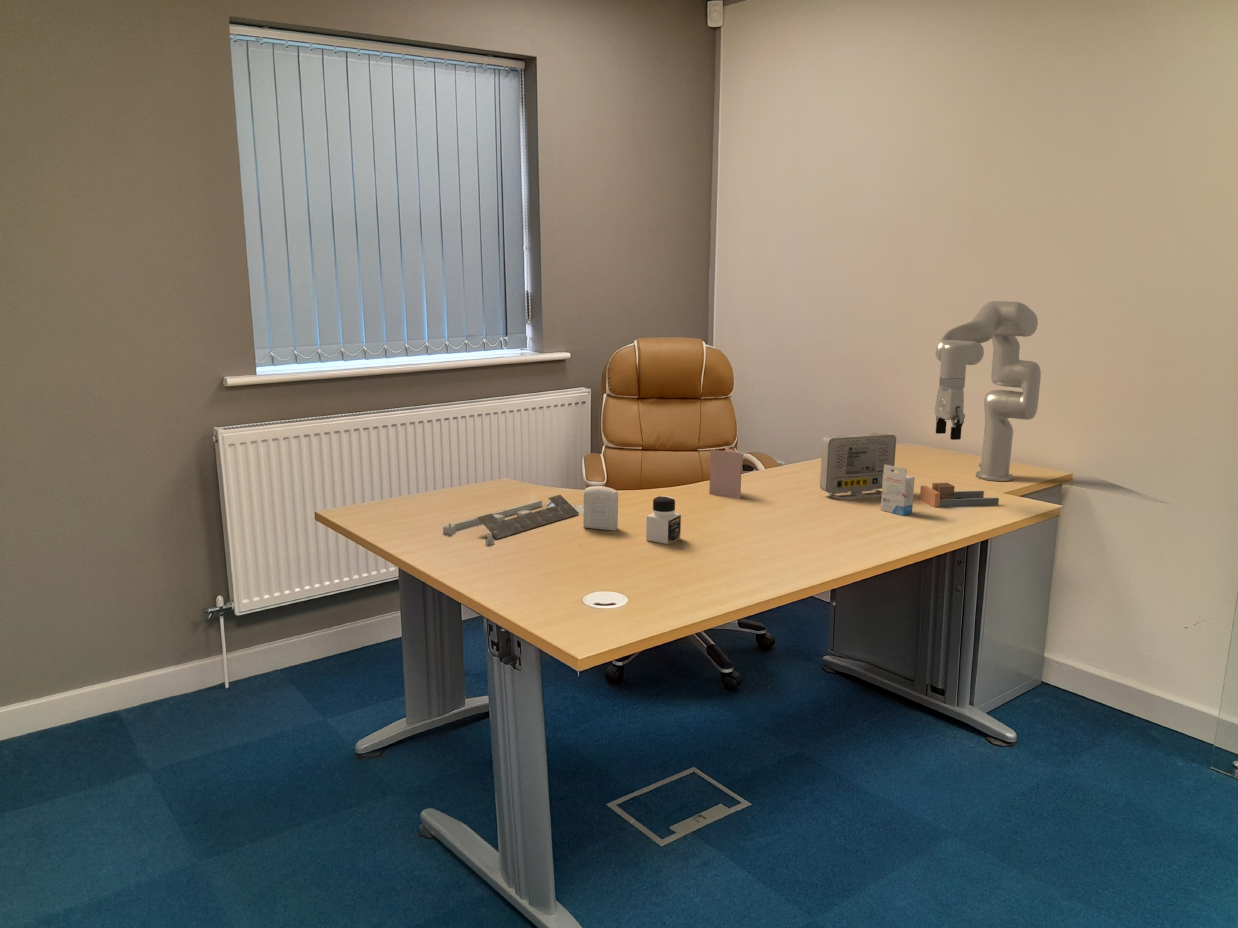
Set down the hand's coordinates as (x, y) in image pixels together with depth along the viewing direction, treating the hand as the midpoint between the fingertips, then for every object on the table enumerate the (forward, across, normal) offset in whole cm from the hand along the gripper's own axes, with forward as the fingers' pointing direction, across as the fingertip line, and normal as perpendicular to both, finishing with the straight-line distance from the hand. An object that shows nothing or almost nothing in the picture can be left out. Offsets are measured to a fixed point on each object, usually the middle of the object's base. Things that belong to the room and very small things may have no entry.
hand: (947, 436), depth 292 cm
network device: (+22, -12, -24) cm, 35 cm away
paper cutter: (+21, +8, -135) cm, 137 cm away
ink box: (+22, +10, -20) cm, 31 cm away
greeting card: (+21, -16, -68) cm, 73 cm away
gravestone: (+20, +16, -113) cm, 116 cm away
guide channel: (+22, 0, +6) cm, 23 cm away
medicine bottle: (+20, +30, -97) cm, 103 cm away
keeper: (+22, 0, 0) cm, 22 cm away
